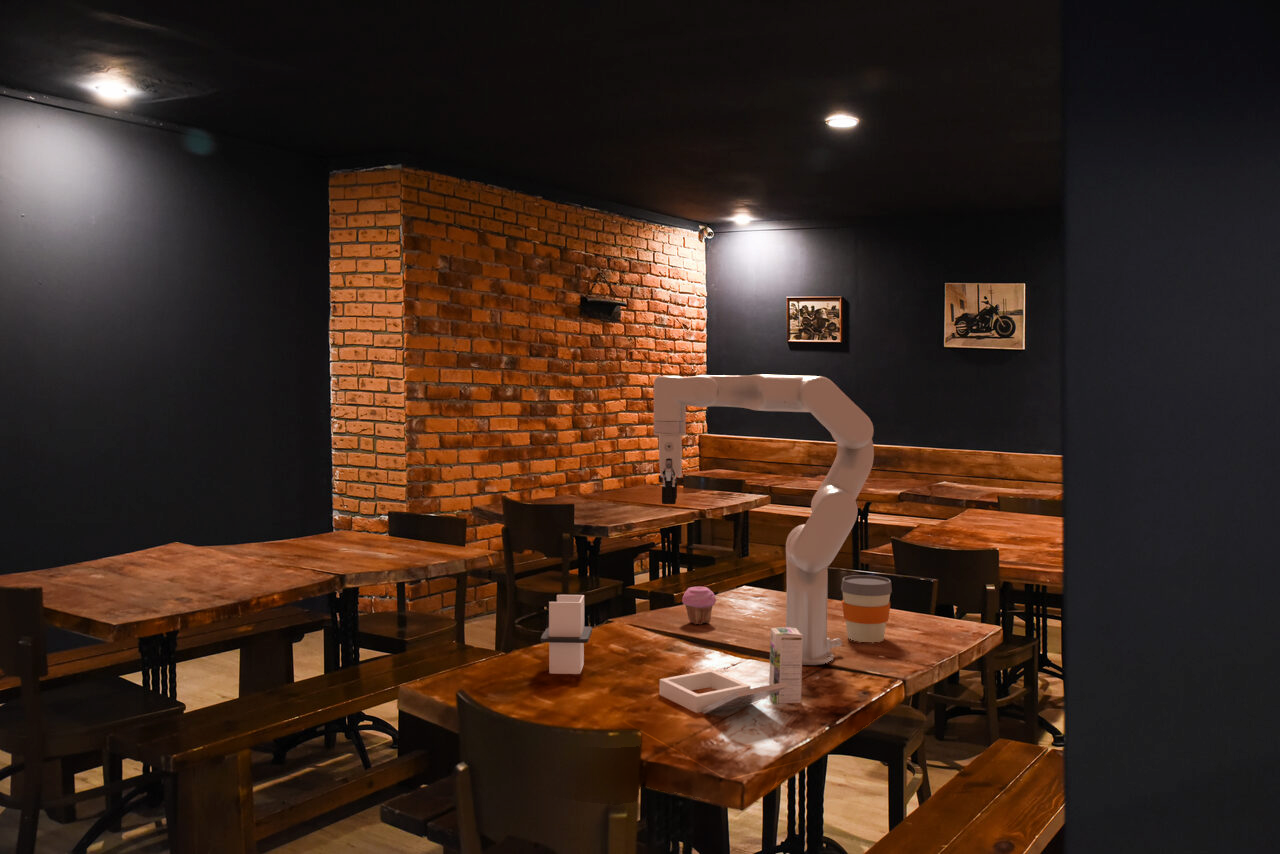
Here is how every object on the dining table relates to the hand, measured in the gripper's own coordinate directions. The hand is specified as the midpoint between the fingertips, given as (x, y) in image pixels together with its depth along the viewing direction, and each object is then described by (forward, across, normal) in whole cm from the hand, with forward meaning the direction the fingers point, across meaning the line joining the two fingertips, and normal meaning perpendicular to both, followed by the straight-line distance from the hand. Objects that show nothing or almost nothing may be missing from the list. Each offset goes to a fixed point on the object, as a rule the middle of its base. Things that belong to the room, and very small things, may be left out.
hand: (669, 501), depth 240 cm
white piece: (+37, -31, -8) cm, 49 cm away
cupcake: (+37, +33, -7) cm, 50 cm away
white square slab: (+34, -42, -16) cm, 56 cm away
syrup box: (+37, -30, -25) cm, 54 cm away
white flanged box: (+38, -11, +23) cm, 45 cm away
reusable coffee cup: (+37, +20, -49) cm, 65 cm away
